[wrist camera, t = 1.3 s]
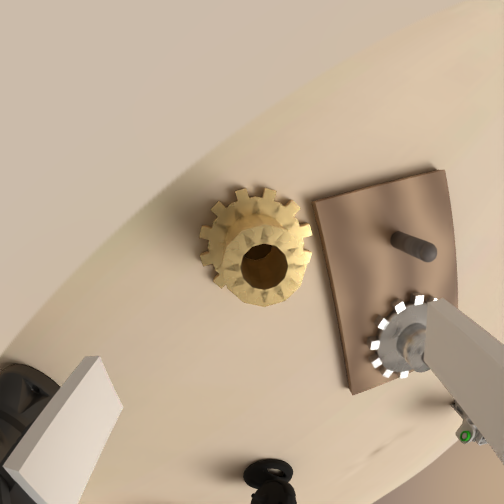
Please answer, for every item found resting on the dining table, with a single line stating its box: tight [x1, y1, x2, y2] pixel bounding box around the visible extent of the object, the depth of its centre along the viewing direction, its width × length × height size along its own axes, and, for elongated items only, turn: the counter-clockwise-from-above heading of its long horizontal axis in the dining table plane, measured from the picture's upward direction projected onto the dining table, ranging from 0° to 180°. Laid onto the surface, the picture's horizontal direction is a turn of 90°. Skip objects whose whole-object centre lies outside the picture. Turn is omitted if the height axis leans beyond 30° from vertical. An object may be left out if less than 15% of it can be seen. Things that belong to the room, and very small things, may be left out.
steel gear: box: [367, 292, 437, 379], centre depth 32 cm, size 11×11×5 cm
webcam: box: [243, 460, 297, 504], centre depth 35 cm, size 8×8×10 cm
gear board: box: [312, 170, 458, 395], centre depth 30 cm, size 16×24×8 cm, turn 16°
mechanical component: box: [451, 400, 488, 445], centre depth 35 cm, size 3×10×10 cm, turn 72°
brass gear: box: [199, 188, 312, 307], centre depth 28 cm, size 11×11×9 cm
